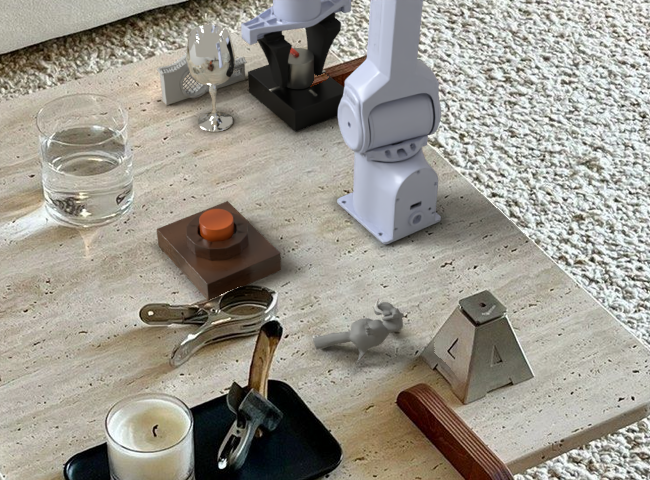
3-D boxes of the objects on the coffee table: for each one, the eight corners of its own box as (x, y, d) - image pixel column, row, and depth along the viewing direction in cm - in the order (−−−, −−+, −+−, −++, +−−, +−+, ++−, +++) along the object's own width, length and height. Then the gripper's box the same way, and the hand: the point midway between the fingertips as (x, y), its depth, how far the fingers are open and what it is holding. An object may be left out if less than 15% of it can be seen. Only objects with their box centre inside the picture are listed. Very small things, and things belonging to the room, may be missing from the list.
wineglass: (244, 129, 146) (240, 41, 138) (200, 138, 145) (193, 50, 136) (229, 105, 150) (224, 18, 142) (186, 114, 149) (178, 27, 140)
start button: (240, 234, 126) (239, 221, 125) (211, 247, 124) (210, 233, 123) (223, 217, 128) (222, 204, 127) (194, 229, 126) (192, 216, 125)
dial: (320, 83, 148) (320, 56, 145) (293, 93, 146) (292, 65, 144) (302, 69, 150) (302, 42, 148) (275, 78, 149) (275, 51, 146)
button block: (281, 270, 127) (280, 241, 124) (208, 301, 124) (206, 272, 121) (228, 217, 134) (226, 188, 131) (158, 246, 130) (154, 217, 127)
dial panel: (349, 112, 149) (350, 90, 147) (294, 132, 146) (294, 110, 143) (301, 73, 155) (301, 51, 153) (247, 92, 152) (246, 70, 150)
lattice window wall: (241, 75, 155) (239, 34, 151) (248, 81, 154) (246, 40, 150) (159, 101, 151) (155, 60, 147) (165, 108, 150) (161, 66, 145)
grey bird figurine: (324, 313, 123) (408, 294, 120) (336, 369, 123) (420, 352, 120) (294, 315, 113) (384, 295, 110) (307, 377, 113) (398, 358, 110)
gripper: (328, -54, 144) (327, 47, 153) (225, -22, 138) (231, 80, 148) (362, -31, 140) (359, 71, 149) (257, 3, 134) (261, 106, 143)
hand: (297, 77), depth 148 cm, fingers open, 5 cm apart
